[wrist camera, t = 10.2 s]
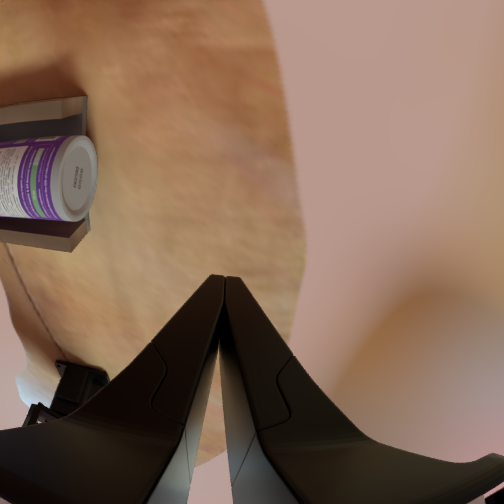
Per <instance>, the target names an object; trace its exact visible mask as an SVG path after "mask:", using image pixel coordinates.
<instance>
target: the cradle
mask: <svg viewBox="0 0 504 504" xmlns="http://www.w3.org/2000/svg"><path fill="white" fill-rule="evenodd" d="M87 98H88V96H75V97H63V98H53V99H44V100H37V101H29V102H23V103H16V104H11V105H5V106H0V142H2V141H10V140H19V139H29V138H40V137H53V136H70V135H84V136H86V116H87ZM89 231H90V222H89V211H88V213H87V214H86V215H85V217H84V218H82V219H81V220H79V221H75V222H74V221H58V220H44V219H30V218H15V217H0V242H5V243H11V244H18V245H24V246H30V247H37V248H43V249H50V250H57V251H64V252H70V253H71V252H72V251H73V250H74V249H75V247H76V246H77V245H78V244H79V243H80V241H81V240H82V239H83V238H84V237H85V235H86V234H87V233H88V232H89Z"/></svg>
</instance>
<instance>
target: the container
mask: <svg viewBox="0 0 504 504" xmlns="http://www.w3.org/2000/svg"><path fill="white" fill-rule="evenodd" d="M97 176H98V163H97V155H96V151H95V147H94V145H93V143H92V141H91V140H90V139H89V138H88V137H87V136H84V135H70V136H53V137H40V138H29V139H19V140H10V141H2V142H0V217H15V218H30V219H44V220H58V221H74V222H75V221H79V220H81V219H82V218H84V217H85V215H86V214H87V213H88V211H89V209H90V207H91V205H92V202H93V199H94V195H95V191H96V185H97Z"/></svg>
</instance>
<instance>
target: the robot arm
mask: <svg viewBox="0 0 504 504" xmlns="http://www.w3.org/2000/svg"><path fill="white" fill-rule="evenodd" d="M218 348H219V361H220V375H221V388H222V400H223V411H224V422H225V433H226V443H227V453H228V462H229V471H230V480H231V487H232V496H233V504H504V487H503V488H501V489H499V490H497V491H496V492H494V493H493V494H491V495H489V496H487V497H486V498H484V495H483V494H485V493H487V492H488V491H490V490H491V489H493V488H495V487H496V486H498V485H499V484H501V483H502V482H504V456H502V455H498V454H495V453H491V454H488V455H486V456H484V457H482V458H480V459H478V460H476V461H472V462H466V463H454V462H448V461H443V460H438V459H434V458H430V457H426V456H423V455H419V454H415V453H411V452H408V451H405V450H401V449H398V448H394V447H391V446H388V445H385V444H382V443H379V442H377V441H375V440H373V439H371V438H370V437H368V436H367V435H365V434H364V433H363V432H362V431H360V430H359V429H358V428H357V427H356V426H355V425H354V424H353V423H352V422H351V421H350V420H349V419H348V418H347V416H346V415H345V414H343V412H342V411H340V409H339V408H338V407H337V406H336V405H335V404H334V403H333V402H332V401H331V400H330V399H329V398H328V397H327V396H326V394H325V393H324V392H323V391H322V390H321V389H320V388H319V386H318V385H317V384H316V383H315V382H314V381H313V380H312V378H311V377H310V376H309V374H308V373H307V372H306V370H305V369H304V368H303V367H302V365H301V364H300V362H299V361H298V360H297V358H296V357H295V356H293V353H292V351H291V350H290V349H289V347H288V346H287V344H286V343H285V341H284V340H283V339H282V337H281V336H280V334H279V333H278V331H277V330H276V329H275V327H274V326H273V324H272V323H271V321H270V320H269V318H268V317H267V316H266V314H265V313H264V311H263V310H262V308H261V307H260V305H259V304H258V303H257V301H256V300H255V298H254V297H253V295H252V294H251V292H250V291H249V289H248V288H247V287H246V285H245V284H244V282H243V281H242V279H241V278H240V277H233V276H227V277H226V278H225V276H223V275H214V274H211V275H210V276H209V277H208V278H207V279H206V280H205V281H204V282H203V283H202V285H201V286H200V287H199V288H198V289H197V290H196V291H195V292H194V293H193V295H192V296H191V297H190V298H189V299H188V300H187V301H186V302H185V303H184V305H183V306H182V307H181V308H180V309H179V310H178V311H177V312H176V313H175V315H174V316H173V317H172V318H171V319H170V320H169V321H168V322H167V324H166V325H165V326H164V327H163V328H162V329H161V330H160V331H159V333H158V334H157V335H156V336H155V337H154V338H153V339H152V340H151V342H150V343H149V344H148V345H147V346H146V347H145V348H144V349H143V350H142V352H141V353H140V354H139V355H138V356H137V357H136V358H135V359H134V360H133V361H132V362H131V363H130V364H129V365H128V366H127V367H126V368H125V369H124V370H123V371H121V372H120V373H119V374H118V375H117V376H116V377H115V378H114V379H112V380H111V381H110V380H109V377H108V375H107V374H106V373H105V372H102V371H98V370H94V369H89V368H85V367H81V366H77V365H74V364H70V363H66V362H63V361H59V360H56V362H55V366H56V368H57V370H58V372H59V374H60V376H61V379H60V381H59V384H58V386H57V389H56V391H55V395H54V398H53V400H52V403H51V406H50V408H47V407H46V406H44V405H43V404H42V403H40V402H39V403H38V405H37V404H31V407H30V409H29V412H28V414H27V417H26V419H25V421H24V423H23V425H22V427H18V428H12V429H6V430H0V504H187V500H188V495H189V490H190V484H191V479H192V474H193V470H194V465H195V460H196V455H197V450H198V445H199V440H200V435H201V431H202V426H203V421H204V416H205V411H206V407H207V402H208V397H209V392H210V388H211V383H212V378H213V373H214V369H215V364H216V359H217V354H218ZM38 421H40V422H41V423H38Z"/></svg>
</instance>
